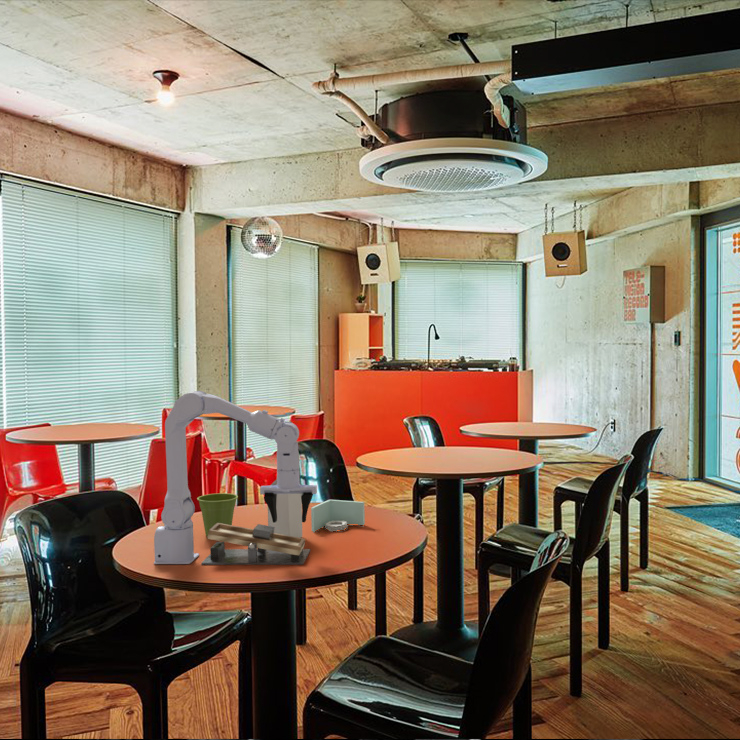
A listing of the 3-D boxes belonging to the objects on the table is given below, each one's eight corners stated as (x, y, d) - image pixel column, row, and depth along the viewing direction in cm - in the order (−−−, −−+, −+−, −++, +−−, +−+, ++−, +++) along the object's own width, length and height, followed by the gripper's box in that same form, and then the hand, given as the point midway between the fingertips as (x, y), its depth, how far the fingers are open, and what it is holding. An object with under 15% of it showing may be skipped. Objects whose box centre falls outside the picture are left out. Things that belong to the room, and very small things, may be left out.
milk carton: (268, 541, 194) (266, 474, 194) (281, 534, 201) (280, 470, 200) (289, 543, 191) (287, 475, 191) (302, 537, 198) (301, 471, 197)
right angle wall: (311, 532, 203) (311, 507, 203) (329, 523, 214) (329, 499, 214) (348, 536, 198) (347, 510, 198) (364, 526, 209) (364, 502, 209)
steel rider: (251, 540, 176) (253, 528, 176) (256, 535, 181) (258, 524, 180) (268, 543, 175) (270, 531, 175) (272, 538, 180) (274, 527, 180)
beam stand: (200, 565, 173) (200, 544, 173) (215, 550, 185) (214, 531, 185) (302, 565, 171) (302, 543, 171) (310, 550, 184) (310, 530, 183)
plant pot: (231, 540, 196) (230, 501, 195) (191, 540, 197) (190, 501, 197) (244, 529, 207) (243, 492, 207) (206, 529, 209) (205, 492, 209)
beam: (207, 538, 175) (208, 530, 175) (216, 530, 183) (217, 522, 183) (299, 555, 173) (300, 547, 173) (304, 546, 181) (305, 538, 181)
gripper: (256, 472, 174) (258, 525, 174) (313, 471, 173) (314, 525, 173) (263, 467, 181) (264, 518, 181) (317, 467, 180) (318, 518, 180)
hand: (289, 521), depth 177 cm, fingers open, 7 cm apart
